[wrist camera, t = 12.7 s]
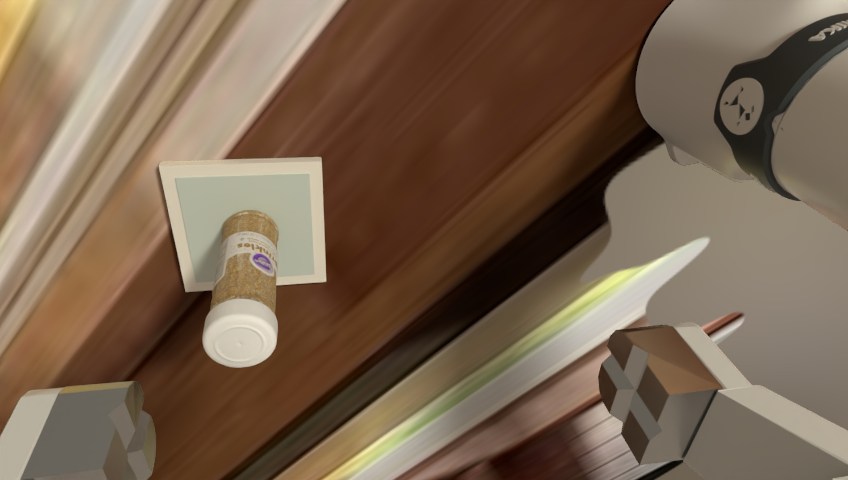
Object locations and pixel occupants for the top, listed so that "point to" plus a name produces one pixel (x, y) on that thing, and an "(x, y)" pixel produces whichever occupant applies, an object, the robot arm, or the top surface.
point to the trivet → (246, 190)
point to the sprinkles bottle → (244, 292)
